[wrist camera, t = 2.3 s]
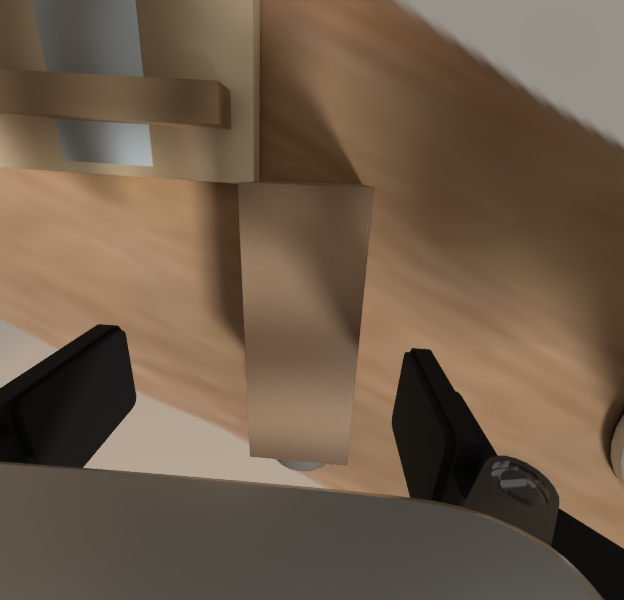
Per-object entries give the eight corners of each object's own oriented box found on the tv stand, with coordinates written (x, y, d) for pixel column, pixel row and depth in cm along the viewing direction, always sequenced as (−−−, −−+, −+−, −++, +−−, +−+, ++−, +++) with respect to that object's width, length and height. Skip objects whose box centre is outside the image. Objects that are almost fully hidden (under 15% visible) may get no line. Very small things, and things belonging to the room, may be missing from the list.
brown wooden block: (272, 181, 16) (237, 182, 11) (362, 184, 16) (373, 187, 10) (274, 406, 21) (251, 487, 16) (343, 412, 21) (343, 496, 15)
